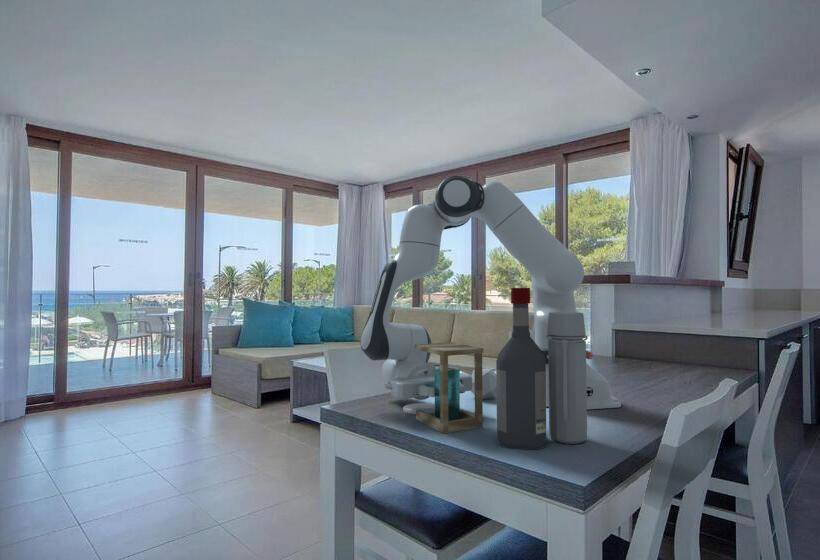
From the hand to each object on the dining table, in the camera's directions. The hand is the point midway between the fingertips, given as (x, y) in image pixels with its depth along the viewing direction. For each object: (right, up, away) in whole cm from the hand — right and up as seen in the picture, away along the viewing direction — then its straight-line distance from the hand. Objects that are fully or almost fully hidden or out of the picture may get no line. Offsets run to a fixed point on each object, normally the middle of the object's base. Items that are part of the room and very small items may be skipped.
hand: (449, 391), depth 104 cm
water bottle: (+22, -7, -12) cm, 26 cm away
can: (0, -7, +1) cm, 7 cm away
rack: (0, -7, +1) cm, 7 cm away
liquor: (+13, -7, -13) cm, 20 cm away
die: (+12, -8, +24) cm, 28 cm away
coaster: (-6, -7, +11) cm, 15 cm away
